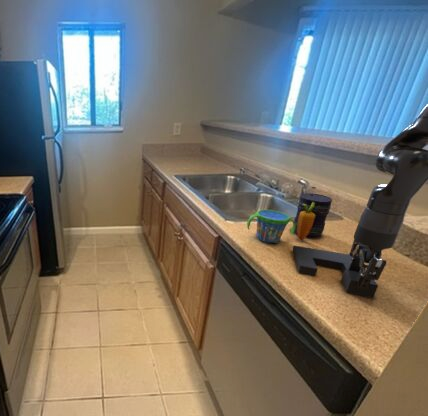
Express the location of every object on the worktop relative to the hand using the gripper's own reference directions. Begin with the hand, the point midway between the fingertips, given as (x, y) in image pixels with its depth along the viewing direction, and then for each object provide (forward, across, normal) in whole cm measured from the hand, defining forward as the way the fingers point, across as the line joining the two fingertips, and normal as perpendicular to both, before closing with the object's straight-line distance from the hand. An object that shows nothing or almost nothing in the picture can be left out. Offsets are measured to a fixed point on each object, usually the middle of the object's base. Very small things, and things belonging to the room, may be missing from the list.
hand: (356, 280), depth 76 cm
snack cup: (+3, +23, +20) cm, 31 cm away
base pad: (+3, +9, +5) cm, 11 cm away
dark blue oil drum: (+3, +35, +6) cm, 36 cm away
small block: (+2, 0, 0) cm, 3 cm away
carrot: (+3, +27, +9) cm, 29 cm away
